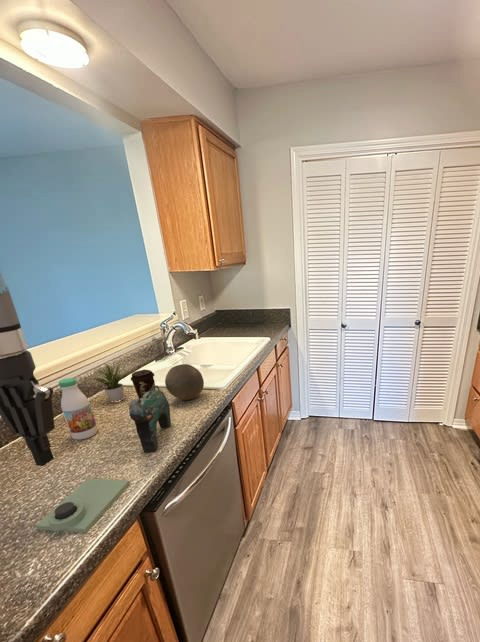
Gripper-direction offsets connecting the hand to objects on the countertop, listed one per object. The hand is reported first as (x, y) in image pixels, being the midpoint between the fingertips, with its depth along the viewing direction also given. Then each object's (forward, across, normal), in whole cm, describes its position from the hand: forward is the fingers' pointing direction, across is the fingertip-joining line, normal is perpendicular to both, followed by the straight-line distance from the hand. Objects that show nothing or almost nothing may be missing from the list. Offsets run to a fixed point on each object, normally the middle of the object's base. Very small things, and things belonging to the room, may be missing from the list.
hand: (45, 462), depth 68 cm
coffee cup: (+16, +17, -62) cm, 66 cm away
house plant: (+16, +32, -65) cm, 74 cm away
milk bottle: (+17, +25, -36) cm, 47 cm away
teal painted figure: (+16, -2, -35) cm, 39 cm away
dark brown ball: (+16, +1, -64) cm, 66 cm away
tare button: (+14, -1, 0) cm, 14 cm away
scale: (+16, -1, -5) cm, 17 cm away
